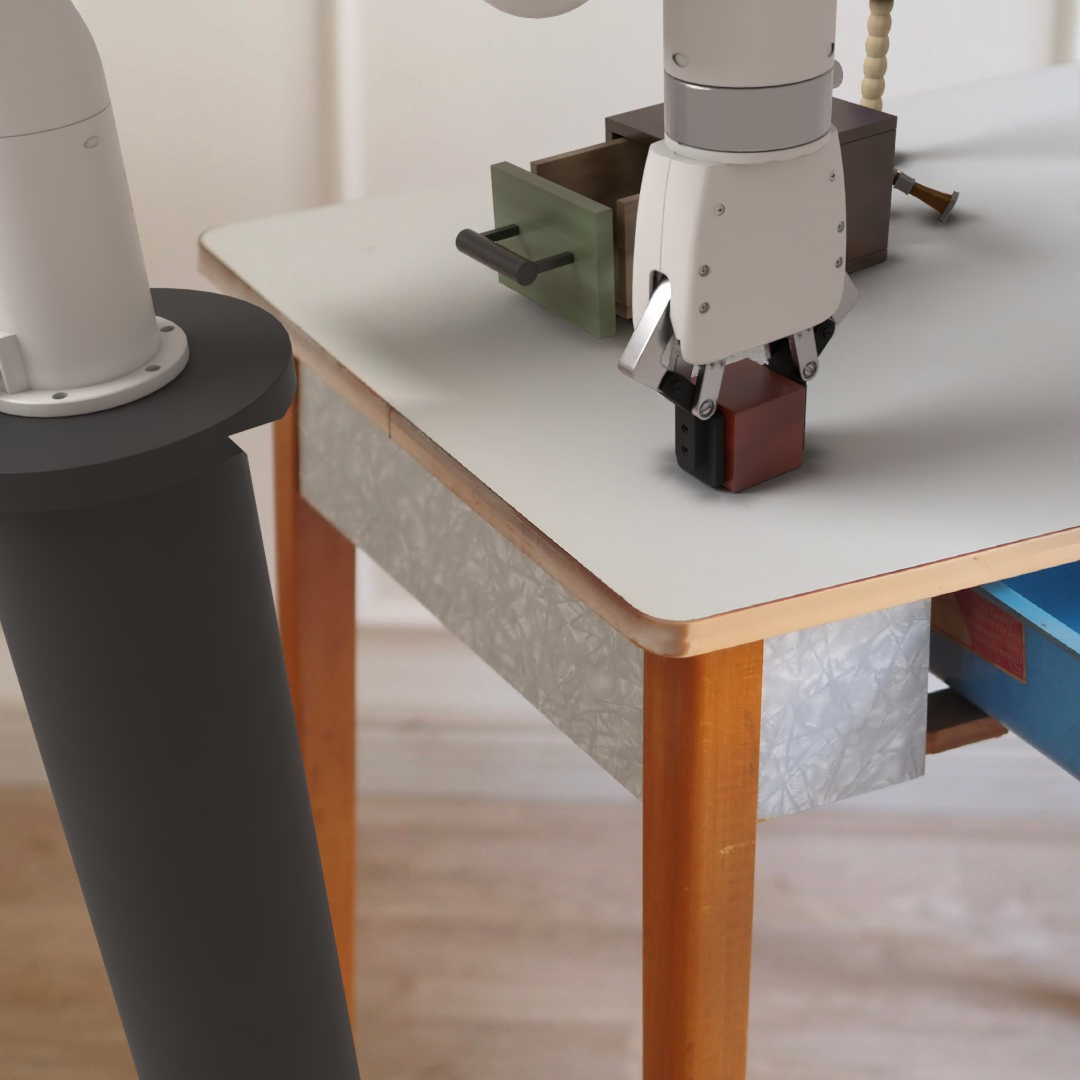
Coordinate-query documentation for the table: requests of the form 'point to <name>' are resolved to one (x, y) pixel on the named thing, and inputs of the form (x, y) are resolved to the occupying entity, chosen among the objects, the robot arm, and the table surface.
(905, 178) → the wooden post with brackets
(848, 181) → the cabinet
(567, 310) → the drawer
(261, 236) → the table surface
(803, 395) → the block
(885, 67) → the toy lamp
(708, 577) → the table surface
